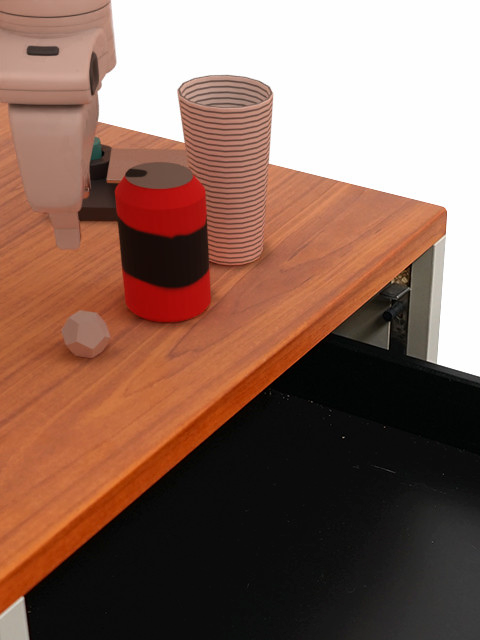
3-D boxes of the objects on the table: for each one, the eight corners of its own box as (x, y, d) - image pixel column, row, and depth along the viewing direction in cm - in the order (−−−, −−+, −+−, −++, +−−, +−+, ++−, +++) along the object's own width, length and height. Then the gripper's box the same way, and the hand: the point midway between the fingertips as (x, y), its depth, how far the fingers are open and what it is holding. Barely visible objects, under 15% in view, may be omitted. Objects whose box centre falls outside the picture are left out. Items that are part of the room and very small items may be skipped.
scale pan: (106, 183, 137) (106, 179, 137) (111, 151, 143) (111, 148, 143) (189, 184, 138) (188, 180, 138) (190, 153, 144) (190, 149, 144)
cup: (174, 240, 135) (164, 79, 125) (257, 228, 138) (253, 70, 128) (203, 278, 129) (195, 112, 119) (289, 264, 133) (287, 102, 123)
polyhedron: (101, 365, 116) (97, 331, 114) (57, 359, 116) (52, 324, 114) (118, 343, 119) (114, 309, 117) (75, 337, 119) (71, 303, 117)
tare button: (70, 162, 141) (68, 145, 140) (73, 151, 143) (71, 134, 142) (100, 163, 142) (99, 146, 141) (102, 151, 144) (101, 135, 143)
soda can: (134, 281, 128) (123, 154, 120) (217, 287, 128) (211, 161, 120) (117, 320, 122) (104, 190, 114) (204, 326, 122) (196, 196, 115)
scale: (51, 220, 137) (47, 191, 135) (62, 169, 146) (59, 141, 144) (200, 221, 139) (199, 192, 137) (202, 171, 148) (200, 144, 146)
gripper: (24, -4, 109) (46, 167, 118) (-10, 88, 93) (19, 277, 102) (106, -2, 110) (123, 168, 118) (86, 89, 94) (107, 277, 103)
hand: (74, 219), depth 110 cm, fingers open, 8 cm apart
